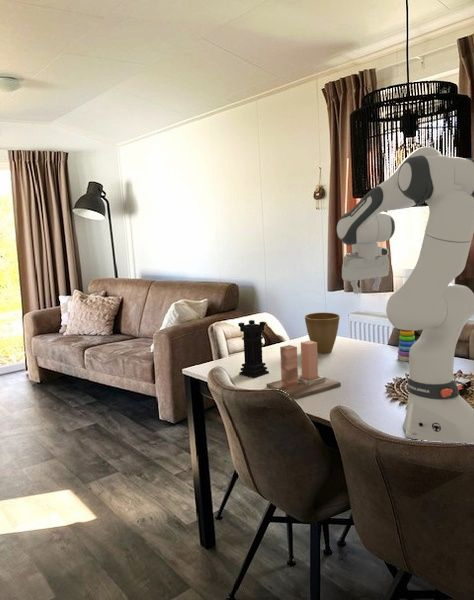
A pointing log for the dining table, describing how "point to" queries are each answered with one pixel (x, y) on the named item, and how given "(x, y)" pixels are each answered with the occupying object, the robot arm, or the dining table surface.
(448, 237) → the robot arm
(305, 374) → the loose pillar
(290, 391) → the pillar base stand
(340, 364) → the dining table surface
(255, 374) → the chess piece
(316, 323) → the plant pot
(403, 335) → the stacking toy
